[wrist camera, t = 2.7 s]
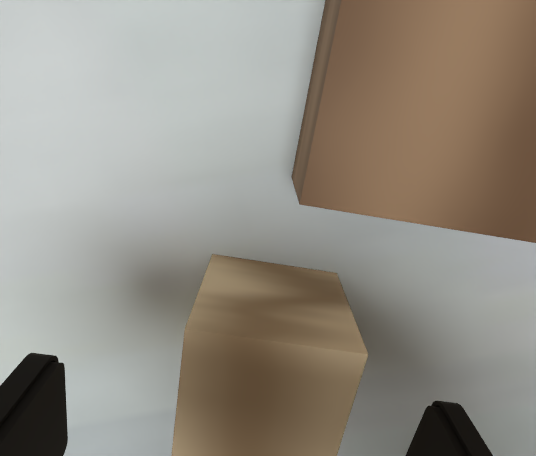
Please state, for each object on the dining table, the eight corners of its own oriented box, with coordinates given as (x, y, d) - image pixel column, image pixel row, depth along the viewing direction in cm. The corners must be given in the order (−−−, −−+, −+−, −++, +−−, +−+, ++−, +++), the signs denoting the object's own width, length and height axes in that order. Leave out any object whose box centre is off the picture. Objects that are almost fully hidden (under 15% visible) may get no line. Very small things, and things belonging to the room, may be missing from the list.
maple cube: (336, 272, 15) (368, 354, 10) (311, 371, 16) (328, 483, 12) (212, 253, 14) (184, 328, 10) (199, 356, 16) (170, 463, 11)
